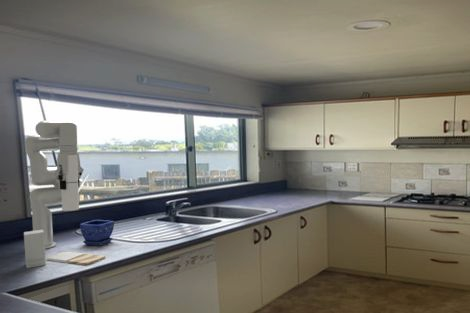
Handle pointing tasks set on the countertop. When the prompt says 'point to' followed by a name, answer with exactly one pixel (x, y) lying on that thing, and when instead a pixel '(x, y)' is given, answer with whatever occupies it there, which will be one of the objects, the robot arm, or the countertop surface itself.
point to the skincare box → (34, 248)
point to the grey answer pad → (64, 256)
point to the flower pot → (97, 232)
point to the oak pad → (86, 259)
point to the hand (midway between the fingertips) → (69, 188)
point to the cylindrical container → (71, 186)
